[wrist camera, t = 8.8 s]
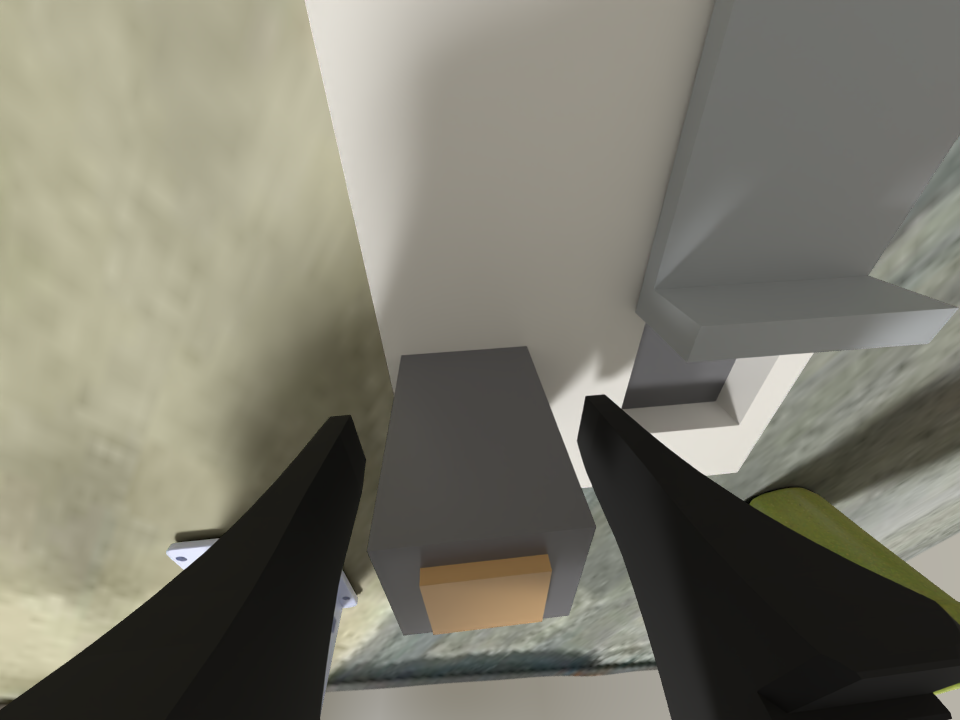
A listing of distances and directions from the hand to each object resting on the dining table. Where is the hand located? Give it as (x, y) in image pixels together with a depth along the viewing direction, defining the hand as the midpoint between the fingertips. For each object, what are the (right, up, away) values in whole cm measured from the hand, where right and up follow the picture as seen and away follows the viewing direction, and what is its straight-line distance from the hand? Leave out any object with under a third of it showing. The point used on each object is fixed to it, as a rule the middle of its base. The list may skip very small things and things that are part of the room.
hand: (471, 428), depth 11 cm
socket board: (+5, +4, +2) cm, 6 cm away
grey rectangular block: (0, +1, +1) cm, 2 cm away
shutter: (+8, +7, -2) cm, 11 cm away
